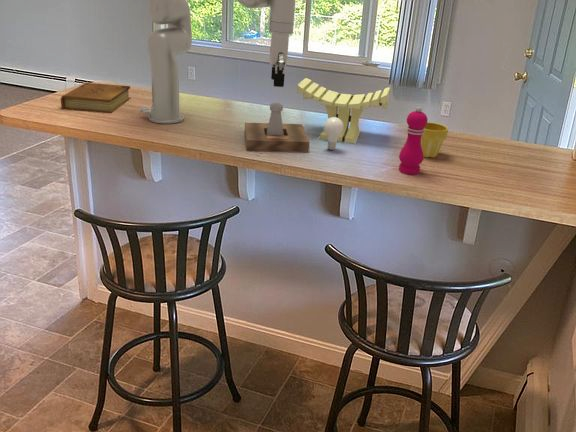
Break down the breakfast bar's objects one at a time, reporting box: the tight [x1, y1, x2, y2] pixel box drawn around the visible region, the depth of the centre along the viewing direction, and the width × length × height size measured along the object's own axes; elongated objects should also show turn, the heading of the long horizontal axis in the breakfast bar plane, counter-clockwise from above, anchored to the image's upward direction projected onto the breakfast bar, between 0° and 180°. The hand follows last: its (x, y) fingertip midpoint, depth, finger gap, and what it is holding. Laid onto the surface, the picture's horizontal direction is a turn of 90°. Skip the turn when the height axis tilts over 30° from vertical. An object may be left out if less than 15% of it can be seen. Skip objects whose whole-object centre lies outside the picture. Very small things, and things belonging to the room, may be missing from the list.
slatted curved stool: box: [296, 77, 391, 144], centre depth 201 cm, size 30×16×18 cm, turn 76°
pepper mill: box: [398, 106, 429, 175], centre depth 171 cm, size 7×7×20 cm
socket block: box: [244, 122, 310, 153], centre depth 192 cm, size 20×20×4 cm
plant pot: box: [421, 121, 449, 158], centre depth 189 cm, size 10×10×10 cm
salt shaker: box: [267, 102, 284, 135], centre depth 191 cm, size 6×6×13 cm
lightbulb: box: [323, 117, 344, 151], centre depth 187 cm, size 6×6×11 cm
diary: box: [60, 82, 132, 114], centre depth 222 cm, size 23×19×6 cm
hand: (277, 82), depth 185 cm, fingers open, 9 cm apart
